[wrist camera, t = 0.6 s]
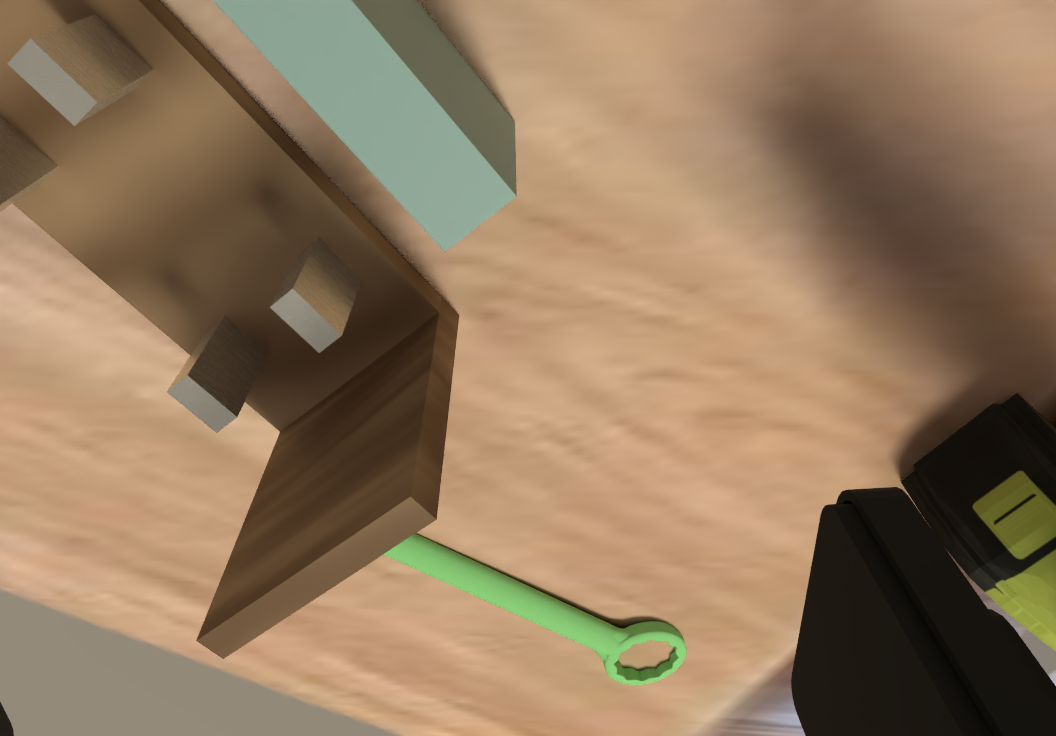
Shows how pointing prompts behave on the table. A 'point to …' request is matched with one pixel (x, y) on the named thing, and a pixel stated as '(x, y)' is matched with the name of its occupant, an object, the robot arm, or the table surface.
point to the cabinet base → (236, 286)
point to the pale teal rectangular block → (394, 102)
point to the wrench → (543, 609)
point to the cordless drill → (998, 508)
